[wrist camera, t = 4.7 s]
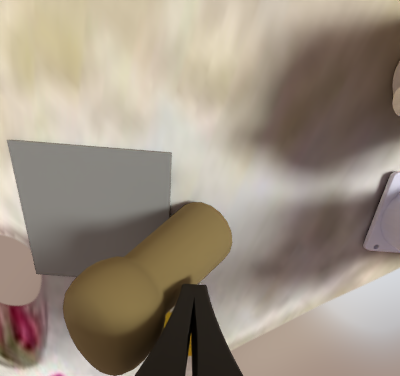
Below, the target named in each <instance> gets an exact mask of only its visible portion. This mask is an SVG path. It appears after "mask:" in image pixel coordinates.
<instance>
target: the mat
mask: <svg viewBox="0 0 400 376" xmlns="http://www.w3.org/2000/svg"><path fill="white" fill-rule="evenodd" d="M7 142H8V147H9V152H10V156H11V161H12V165H13V170H14V174H15V179H16V183H17V188H18V192H19V197H20V202H21V206H22V211H23V215H24V220H25V224H26V229H27V233H28V238H29V242H30V247H31V252H32V256H33V261H34V265H35V270H36V274H44V275H58V276H72V277H78V276H79V275H80V274H81V273H82V272H83V271H84V270H85V269H86V268H88V267H89V266H91V265H93V264H95V263H96V262H98V261H101V260H105V259H108V258H112V257H117V256H118V257H124V256H126V255H127V254H128V253H129V252H130V251H131V250H133V249H134V248H135V247H136V246H137V245H138V244H140V243H141V242H142V241H143V240H144V239H146V238H147V237H148V236H149V235H150V234H151V233H153V232H154V231H155V230H156V229H157V228H158V227H160V226H161V225H162V224H163V223H164V222H165V221H167V220H168V219H169V218H170V188H171V158H172V153H170V152H157V151H145V150H133V149H120V148H108V147H95V146H83V145H70V144H58V143H45V142H33V141H20V140H7Z"/></svg>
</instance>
